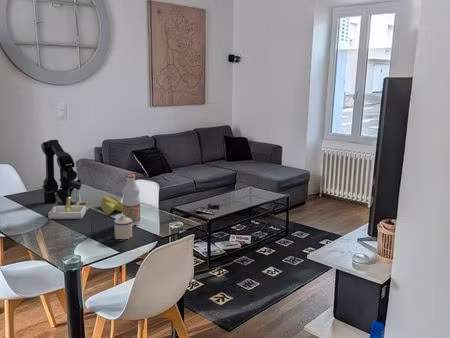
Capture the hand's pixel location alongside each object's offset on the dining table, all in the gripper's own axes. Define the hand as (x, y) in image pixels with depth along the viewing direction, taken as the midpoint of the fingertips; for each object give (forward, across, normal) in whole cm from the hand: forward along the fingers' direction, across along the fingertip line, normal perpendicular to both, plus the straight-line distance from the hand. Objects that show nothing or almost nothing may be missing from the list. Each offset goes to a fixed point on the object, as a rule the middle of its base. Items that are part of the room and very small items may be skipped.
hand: (67, 202), depth 233 cm
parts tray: (+8, 0, 0) cm, 8 cm away
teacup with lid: (+8, -33, -35) cm, 49 cm away
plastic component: (+8, +11, -24) cm, 27 cm away
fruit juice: (+8, -15, -38) cm, 42 cm away
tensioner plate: (+8, +12, 0) cm, 14 cm away
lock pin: (+7, 0, 0) cm, 7 cm away
